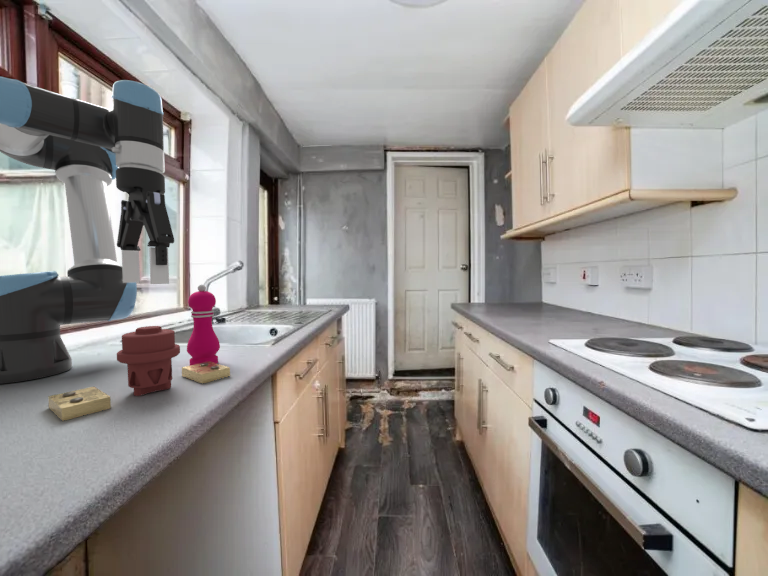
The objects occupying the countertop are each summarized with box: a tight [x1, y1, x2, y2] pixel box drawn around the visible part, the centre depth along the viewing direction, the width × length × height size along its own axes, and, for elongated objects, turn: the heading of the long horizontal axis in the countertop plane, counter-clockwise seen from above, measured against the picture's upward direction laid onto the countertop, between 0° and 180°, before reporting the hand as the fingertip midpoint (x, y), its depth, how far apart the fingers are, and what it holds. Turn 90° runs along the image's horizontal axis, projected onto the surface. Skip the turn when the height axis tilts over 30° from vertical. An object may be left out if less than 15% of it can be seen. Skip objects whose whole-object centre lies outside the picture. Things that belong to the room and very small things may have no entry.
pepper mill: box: [186, 284, 221, 366], centre depth 82 cm, size 7×7×20 cm
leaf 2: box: [181, 362, 231, 385], centre depth 73 cm, size 9×6×2 cm, turn 55°
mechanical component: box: [116, 325, 181, 397], centre depth 64 cm, size 12×10×10 cm
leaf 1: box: [47, 386, 112, 422], centre depth 56 cm, size 9×6×2 cm, turn 55°
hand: (144, 283), depth 64 cm, fingers open, 13 cm apart
